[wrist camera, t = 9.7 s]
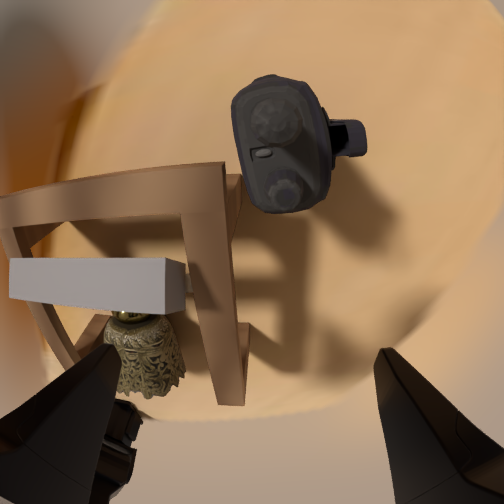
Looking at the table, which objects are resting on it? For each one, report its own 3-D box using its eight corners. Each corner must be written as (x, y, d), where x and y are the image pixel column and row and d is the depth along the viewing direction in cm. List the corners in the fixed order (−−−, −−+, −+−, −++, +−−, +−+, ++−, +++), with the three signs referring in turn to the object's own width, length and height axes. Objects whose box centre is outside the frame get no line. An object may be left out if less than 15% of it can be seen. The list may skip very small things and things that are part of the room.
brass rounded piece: (168, 321, 18) (183, 402, 21) (180, 279, 25) (188, 350, 28) (74, 319, 17) (102, 396, 20) (105, 280, 24) (121, 349, 27)
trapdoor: (99, 271, 23) (98, 297, 23) (10, 257, 12) (9, 297, 12) (214, 272, 23) (214, 302, 22) (165, 257, 12) (164, 314, 11)
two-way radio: (242, 95, 16) (154, 40, 3) (310, 84, 16) (444, 18, 2) (259, 174, 19) (238, 345, 5) (324, 164, 18) (446, 308, 5)
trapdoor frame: (101, 328, 27) (71, 379, 20) (52, 171, 19) (-10, 201, 12) (249, 338, 26) (244, 406, 19) (238, 144, 18) (221, 165, 11)
